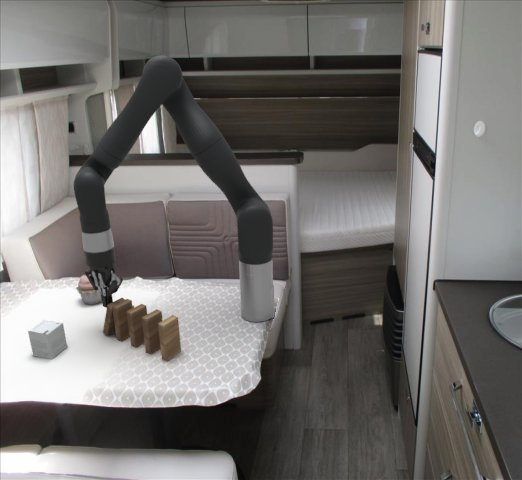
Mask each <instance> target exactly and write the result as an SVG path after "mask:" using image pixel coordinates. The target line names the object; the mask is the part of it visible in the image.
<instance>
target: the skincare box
mask: <svg viewBox="0 0 522 480" xmlns="http://www.w3.org/2000/svg"><path fill="white" fill-rule="evenodd" d="M27 332H28V333H27V334H28V338H29V343H30V347H31V352H32V356H34V357H37V358H39V357H40V358H44V359H50V360H53V359H54V358H56V357H57V356H58V355H59V354H61V353H62V352H63V351H64V350H65V349H66V348H68V344H67V343H68V342H67V337H66V333H65V327H64V322H60V321H55V320H49V319H43V320H42V321H40V322H39V323H37V324H36V325H34V326H33V327H31V328H30V329H29V330H27Z"/></svg>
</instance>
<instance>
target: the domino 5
mask: <svg viewBox="0 0 522 480" xmlns="http://www.w3.org/2000/svg"><path fill="white" fill-rule="evenodd" d="M162 320H163V319H162ZM158 328H159V337H160V346H161V349H160V356H161V360H163V361H165V362H169V361H170V360H172V359H173V358H175V357H176V356H178V355H179V354H181V353H182V347H181V346H182V344H181V335H180V334H181V333H180V325H179V317H178V316H177V315H174V314H172V315H170V316H168V317H166V318H165V319H164V320H163V321H162V322H160V323H158Z"/></svg>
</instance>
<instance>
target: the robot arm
mask: <svg viewBox="0 0 522 480" xmlns="http://www.w3.org/2000/svg"><path fill="white" fill-rule="evenodd" d="M161 106H163V107H164V109H165V110H166V111H167V113H168V114H169V116H170V117H171V119H172V120H173V122H174V123H175V126H176V128H177V130H178V132H179V134H180V136H181V138H182V140H183V142H184V144H185V146H186V147H187V149H188V151H189V152H190V154H191V156H192V158H193V159H194V160H195V162H196V163H197V165H198V166H199V169H201V171H202V172H203V173H204V174H205V175H206V177H208V179H209V180H210V181H211V182H212V183H214V184H215V186H217V187H218V189H219V190H220V191H221V192H222V193H223V195H224V197H225V198H226V199H227V201H228V203H229V204H230V206H231V208H232V210H233V212H234V215H235V217H236V224H237V228H236V229H237V246H238V248H237V249H238V250H237V251H238V270H239V275H238V276H239V291H240V293H239V295H240V311H241V312H240V313H241V315H240V316H241V317H242V319H244V320H246V321H248V322H253V323H254V322H255V323H260V322H266V321H268V320H270V319H274V318H275V317H276V316H275V315H276V314H275V286H274V275H273V274H274V267H273V252H274V222H273V216H272V213H271V210H270V207H269V205H268V204H267V203H266V202H265V200H264V199H263V198H262V197H261V196H260V194H259V193H257V191H256V189H255V188H254V187H253V186H252V185H251V183H250V181H249V180H248V179H247V177H246V175H245V173H244V171H243V169H242V167H241V164H240V162H239V161H238V159H237V157H236V155H235V153H234V152H233V150H232V148H231V147H230V144H229V143H228V142H227V140H226V139H225V137H224V135H223V134H222V132H221V131H220V129H219V128H218V127H217V126H216V124H215V123H214V122H213V120H212V119H211V118H210V117H209V115H207V113H206V112H205V111H204V110H203V109H202V107H200V105H199V104H198V102H197V101H196V99H195V97H194V96H193V94H192V92H191V90H190V88H189V87H188V85H187V83H186V81H185V79H184V76H183V71H182V68H181V66H180V64H179V63H178V62H177V61H176V60H175V59H174V58H172V57H170V56H168V55H163V54H161V55H159V54H158V55H155V56H153V57H151V58H150V59H149V60H147V62H145V65H144V67H143V70H142V73H141V76H140V78H139V81H138V82H137V84H136V88H135V89H134V91H133V93H132V95H131V97H130V98H129V99H128V101H127V103H126V105H125V106H124V107H123V108H122V110H121V111H120V113H118V115H117V116H116V118H115V119H114V120H113V122H112V123H111V124H110V125H109V127H108V129H106V131H105V132H104V135H102V137H101V138H100V140H99V141H98V143H97V145H96V146H95V147H94V149H93V151H92V152H91V154H90V156H89V157H88V158H87V159H86V161H84V163H83V164H82V165H81V167H80V168H79V169H78V171H77V173H76V174H75V178H74V180H73V193H74V197H75V202H76V205H77V208H78V212H79V221H80V227H81V229H80V230H81V236H82V237H81V239H82V240H81V241H82V247H83V252H84V259H85V265H86V266H87V267H89V269H87V270H86V271H84V275H86V276H87V278H88V280H89V281H90V283H91V285H92V286H93V288H94V290H95V291H97V290H98V292H99V294H100V295H101V299H102V302H101V304H102V307H103V308H106V309H107V305H108V304H110V303H112V302H114V300H113V295H114V294H115V293H117V292H118V291H119V289H120V287H121V285H122V283H123V282H124V281H123V278H122V276H120V277H118V276H117V275H116V273H117V272H116V269H115V267H114V265H115V262H116V261H117V257H116V256H117V255H116V250H115V242H114V236H113V235H114V234H113V231H112V229H111V222H110V214H109V211H108V208H107V202H106V201H107V200H106V194H105V193H106V192H105V185H106V183H107V182H108V180H109V178H110V177H111V175H112V174H113V172H114V170H115V169H118V168H119V166H121V164H122V163H123V162H124V160H125V159H126V158H127V156H128V155H129V153H130V152H131V151H132V149H133V147H134V145H135V144H136V142H137V141H138V139H139V137H140V135H141V134H142V132H143V130H144V129H145V127H146V125H147V124H148V122H150V120H151V118H152V117H153V115H154V114H155V113H156V112H157V110H158V109H159V108H160V107H161Z"/></svg>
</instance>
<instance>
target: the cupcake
mask: <svg viewBox="0 0 522 480" xmlns="http://www.w3.org/2000/svg"><path fill="white" fill-rule="evenodd" d="M75 289H76V290H77V293H78V294H79V295H80V297H81V300H82V301H83V303H84V304H86V305H96V304H99V303H102V299H101V295H100V294H99V292H98V290H97V291H95V290H94V288H93V286H92V285H91V283H90V281H89V280H88V278H87V276H86V275H85V274H83V275H81V276H80V278H79V281H78V284H77V287H75Z"/></svg>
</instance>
